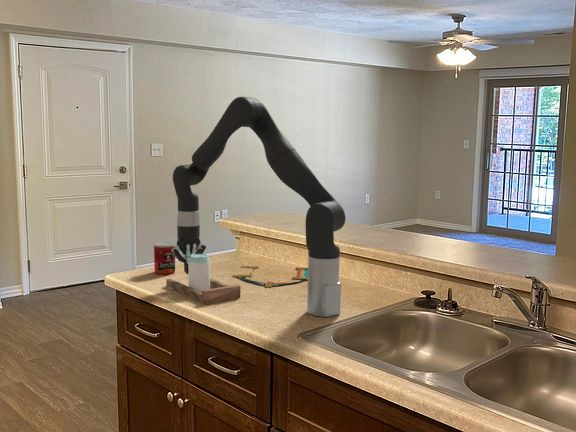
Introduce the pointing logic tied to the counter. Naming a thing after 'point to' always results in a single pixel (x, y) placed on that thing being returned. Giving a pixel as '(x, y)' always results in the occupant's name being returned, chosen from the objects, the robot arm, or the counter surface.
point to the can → (199, 272)
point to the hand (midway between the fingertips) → (188, 273)
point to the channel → (207, 291)
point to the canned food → (164, 258)
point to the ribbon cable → (300, 274)
